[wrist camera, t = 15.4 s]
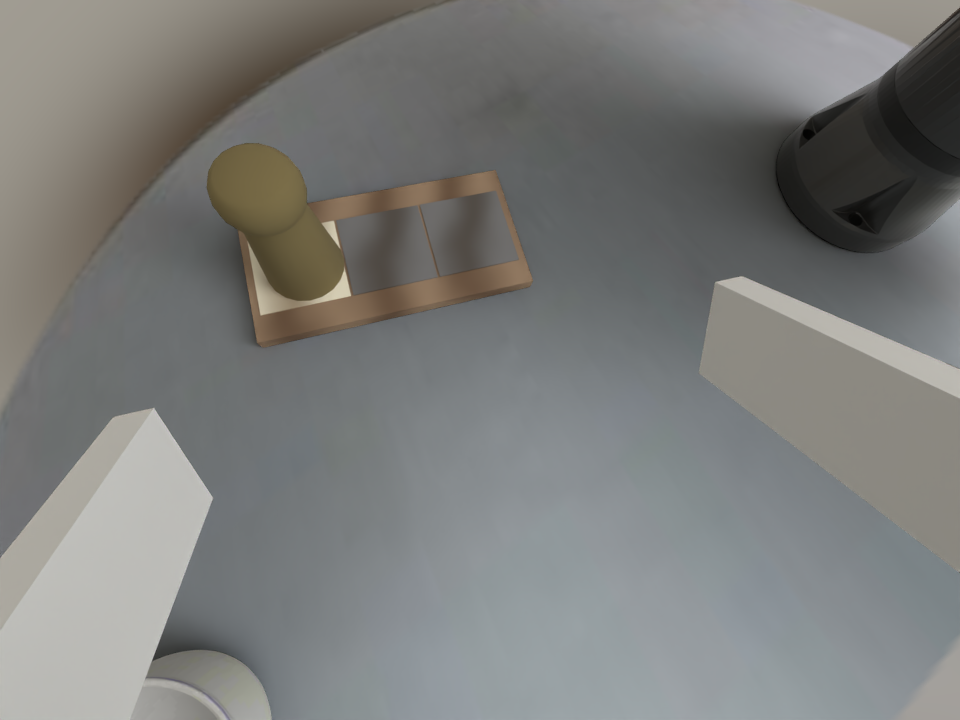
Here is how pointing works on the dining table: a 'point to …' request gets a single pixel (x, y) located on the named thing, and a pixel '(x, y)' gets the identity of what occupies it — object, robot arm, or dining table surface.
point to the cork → (275, 220)
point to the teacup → (201, 689)
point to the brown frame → (400, 257)
